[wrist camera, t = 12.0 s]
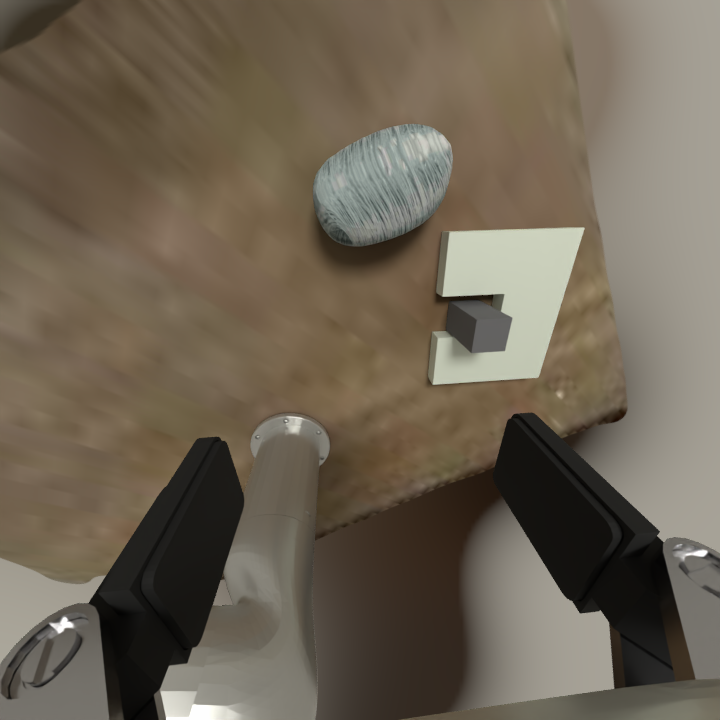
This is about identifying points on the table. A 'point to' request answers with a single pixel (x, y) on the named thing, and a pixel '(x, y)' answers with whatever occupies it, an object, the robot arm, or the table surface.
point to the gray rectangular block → (478, 326)
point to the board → (504, 297)
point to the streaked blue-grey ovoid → (383, 184)
